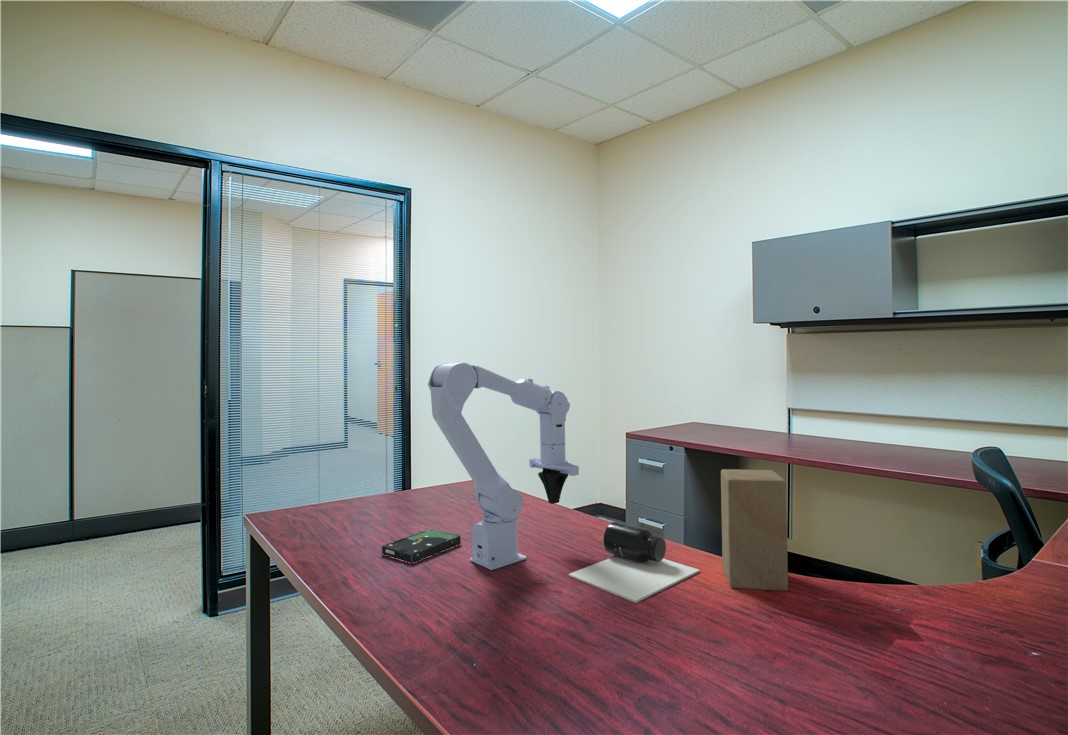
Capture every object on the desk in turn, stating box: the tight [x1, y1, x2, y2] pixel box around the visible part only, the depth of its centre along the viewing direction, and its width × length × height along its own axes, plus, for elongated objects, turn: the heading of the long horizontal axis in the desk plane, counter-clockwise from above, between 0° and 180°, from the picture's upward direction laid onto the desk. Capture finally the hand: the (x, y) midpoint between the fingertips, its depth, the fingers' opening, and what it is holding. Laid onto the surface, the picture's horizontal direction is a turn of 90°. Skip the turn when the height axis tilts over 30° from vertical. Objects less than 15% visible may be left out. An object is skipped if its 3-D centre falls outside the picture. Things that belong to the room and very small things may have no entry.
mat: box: [568, 555, 701, 604], centre depth 106 cm, size 20×16×1 cm
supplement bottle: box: [602, 521, 667, 563], centre depth 113 cm, size 7×7×12 cm
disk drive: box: [381, 528, 462, 563], centre depth 123 cm, size 10×3×15 cm
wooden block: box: [720, 468, 789, 592], centre depth 103 cm, size 10×10×20 cm
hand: (554, 502), depth 124 cm, fingers closed
